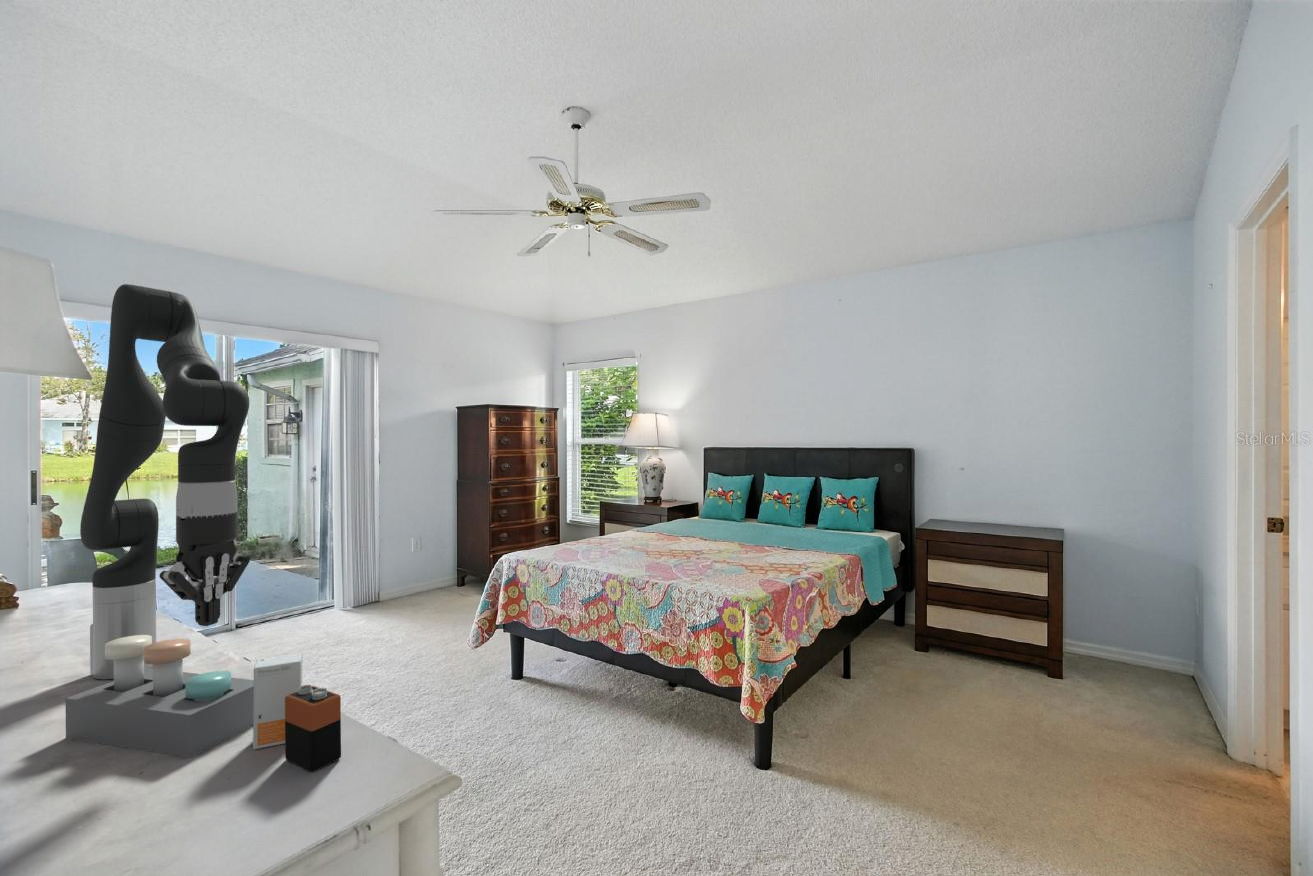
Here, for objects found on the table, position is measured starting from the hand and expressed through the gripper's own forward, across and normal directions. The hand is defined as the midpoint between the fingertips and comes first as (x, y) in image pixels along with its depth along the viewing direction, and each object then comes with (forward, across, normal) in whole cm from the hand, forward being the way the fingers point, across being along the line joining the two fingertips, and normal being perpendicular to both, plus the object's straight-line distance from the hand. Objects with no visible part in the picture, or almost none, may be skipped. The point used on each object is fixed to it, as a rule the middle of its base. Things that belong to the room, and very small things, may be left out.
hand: (207, 624), depth 91 cm
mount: (+17, 0, -8) cm, 18 cm away
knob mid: (+11, 0, -8) cm, 14 cm away
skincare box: (+17, -1, +12) cm, 21 cm away
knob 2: (+16, 0, 0) cm, 16 cm away
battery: (+17, +2, +22) cm, 27 cm away
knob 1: (+11, 0, -16) cm, 20 cm away
